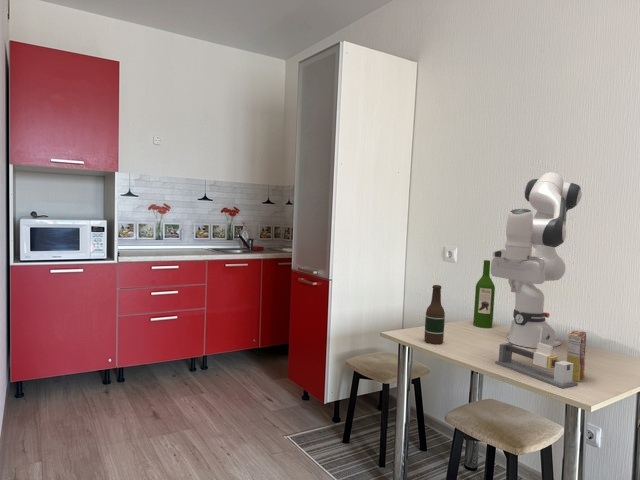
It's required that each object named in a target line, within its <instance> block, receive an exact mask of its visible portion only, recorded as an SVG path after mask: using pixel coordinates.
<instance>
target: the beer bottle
mask: <svg viewBox="0 0 640 480" xmlns="http://www.w3.org/2000/svg"><path fill="white" fill-rule="evenodd" d="M431 289H432V294H431V301H430V304H429V306H428V307H427V308H426V311H425V317H424V318H425V319H424V321H425V322H424V334H423V335H424V338H423V339H424V342H425V341H426V343H427V344H430V343H431V345H441V344H443V343H444V337H445V336H444V335H445V323H446V322H445V320H446V319H445V318H446V317H445V316H446V314H445V313H446V312H445V309H444V307H443V306H442V298H441V297H442V295H441V294H442V285H440V284H433V285H432V288H431Z"/></svg>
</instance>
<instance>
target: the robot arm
mask: <svg viewBox="0 0 640 480" xmlns="http://www.w3.org/2000/svg"><path fill="white" fill-rule="evenodd" d="M523 193H524V199H525V200H526V202H528V203H530V205H531V207H532V208H533V209H535V210H536V212H535V214H533V211H532V210H531V209H528V208H515V209H511V210H510V211H509V212H508V216H507V220H506V227H505V235H506V240H505V241H506V242H505V244H504V248H501V249H496V250H494V251H493V252H492V257H493V258H492V260H491V262H490V275H491V276H492V277H496V278H500V279H501V278H502V279H507V280H508V285H509V287H510V292H511V293H514V296H515V304H514V309H513V314H512V317H513V320H511V325H510V330H509V335H507V339H508V343H511V344H513V345H514V346H519V347H525V348H531V349H534V348H535V349H537V343H542V344H546V345H549V346H552V347H553V348H555V347H558V346H560V345H561V344H562V343H561V341H559V340H556V331H555V329H554V328H553V327H552V326H551V325H549V323H548V322H547V321H546V318H547V319H549V317H550V313H549V312H544V308H545V307H544V306H545V295H544V292H543V291H542V290H540V289H539V288H538V287H536V285H543V284H544V282H549V281H550V282H551V281H554V282H555V281H560V279H562V278H563V276H564V275H565V273H566V264H565V262H564V260H563V259H562V258H561V257H560V256H559V254H558V253H557V251H556V248H557V247H559V246H560V245H562V244H563V243H565V241H566V238H567V230H566V229H567V228H566V225H567V224H566V222H567V212H568V211H569V210H572V209H574V208H575V207H577V205H578V204H579V203H580V201H581V199H582V196H583V195H582V188H581V186H580V185H579V184H576V183H574V182H567V181H564V179H563V177H562V176H561V175H560V174H559V173H557V172H553V171H549V172H546V173H543V174H542V175H541V176H540V177H539V178H532V179H531V180H529V181H528V182H527V183H526V185H525V187H524V192H523ZM533 215H534V217H533ZM533 248H534V249H536V250H535V252H532V250H533Z"/></svg>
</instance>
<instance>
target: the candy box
mask: <svg viewBox="0 0 640 480" xmlns="http://www.w3.org/2000/svg"><path fill="white" fill-rule="evenodd" d="M586 342H587V332H586V331H581V330H572V331H571V332H569V334H568V335H567V348H566V349H567V350H566V351H567V353H566V361H567V362H570V363H574V364H573V377H572V381H574V382H577V383H579V382H581V380H582V379H583V378H584V376H585V367H586V366H585V364H586V345H587V343H586Z"/></svg>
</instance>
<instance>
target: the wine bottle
mask: <svg viewBox="0 0 640 480" xmlns="http://www.w3.org/2000/svg"><path fill="white" fill-rule="evenodd" d="M482 270H483V271H482V276H481V277H480V278H479V280H478V281H477V282H476V283H475V284H476V285H475V294H474V295H475V296H474V307H473V309H474V310H473V322H472V323H473V326H474V327H476V328H482V329H491V328H492V327H493V324H494V320H493V319H494V309H495V295H496V294H495V292H496V288H495V287H496V286H495V284H494V282H493V280H492V278H491V276H490V275H491V260H488V259H483V267H482Z"/></svg>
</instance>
